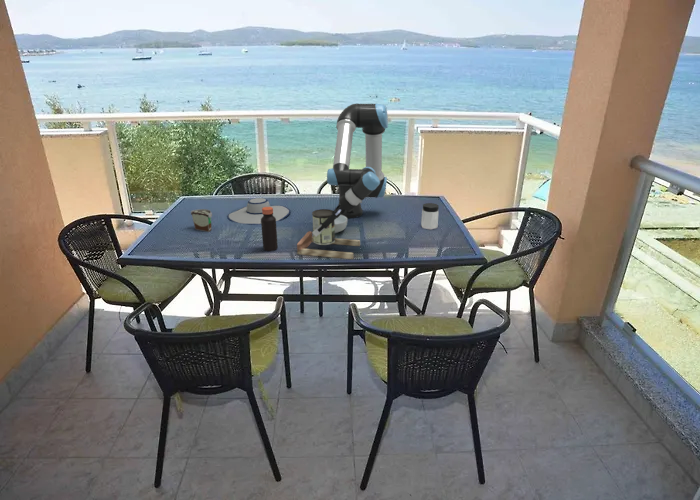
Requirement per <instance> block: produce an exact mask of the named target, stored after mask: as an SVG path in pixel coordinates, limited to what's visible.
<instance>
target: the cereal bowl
mask: <svg viewBox="0 0 700 500" xmlns="http://www.w3.org/2000/svg"><path fill="white" fill-rule="evenodd" d="M334 222H335V234H338V233H339V232H342V231H344V230H345V229H346V227H347V225H348V218H347V217H345V216H343V215H340V216H339V217H338V218H336V219H335V220H334Z"/></svg>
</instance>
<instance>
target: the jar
mask: <svg viewBox="0 0 700 500" xmlns="http://www.w3.org/2000/svg"><path fill="white" fill-rule="evenodd" d="M438 222H439V205H438V204H437V203H433V202H427V203H426V202H425V203H423V204H422V209H421V224H420V225H421V227H422V229H425V230H426V229H427V230H435V229H438V226H439V224H438Z"/></svg>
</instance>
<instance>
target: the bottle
mask: <svg viewBox="0 0 700 500" xmlns="http://www.w3.org/2000/svg"><path fill="white" fill-rule="evenodd" d="M262 213H263V217H262V218H261V235H262V236H261V238H262V248H263V249H262V250H264V251H265V252H266V251H267V252H273V251H276V250H278V248H279V247H278V243H279V242H278V232H277V221H276V218H275V217H274V216H273V208H272V207H264V208H262Z"/></svg>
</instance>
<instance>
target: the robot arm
mask: <svg viewBox="0 0 700 500" xmlns="http://www.w3.org/2000/svg"><path fill="white" fill-rule="evenodd" d="M388 121H389V118H388V110H387V107H386V105H385V104H384V103H377V102H376V103H352V104H350V105H348V106H347V107H345V108H344V109H343V110H342V112H341V113H340V114H339V115H338V118H337V119H336V130H337V134H336V140H335V148H334V150H335V151H334V157H333V164H332V168H328V169H327V171H326V172H327V173H326V182H327V184H328V185H330V186H336V187H337V186H338V187H339V188H338V189H339V190H338V193H339V194H338V195H339V196H338V197H339V199H338V204H337V206H336V207H335V208H334V210H333V212H332V215H331V216H329V217H328V218H327V219H326V220H325V221H324V222H323V223H320V224H321V225H320V226H319V227H317V228H316V229H315V230H314V231H313V230H312V231H311V232H312V235H313V234H314V235H315V236H316V237H317V236H318V235H319V234H320V233H321V232H322V231H323V230H324V229H326V228H327V227H328V226H329V225H330V224H331V223H332V222H333V221H334V220H335V219H336V218H338V217H339V216H340V215H343V216H345V217H347V219H354V218H358V217H361V216H363V213H364V210H363V208H362V204H363V200H365V199H366V198H375V199H377V198H381V199H382V198H383V197H384V196H385V195H386V189H387V180H388V177H387V176H385V173H384V172H383V171H382V170H383V169H382V167H383V164H382V162H383V161H382V160H383V154H382V153H383V149H382V148H383V146H382V145H383V133H385V131H386V129H388V127H389V122H388ZM357 128H358V129H361V131H362V133H363V134H364V135H365V136H364V137H365V138H364V139H365V142H364V143H365V167H363V168H362V169H359V168H358V169H357V168H355V169H354V168H350V164H351V157H352V156H351V155H352V144H353V137H354V132H355V131H356V129H357Z"/></svg>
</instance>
